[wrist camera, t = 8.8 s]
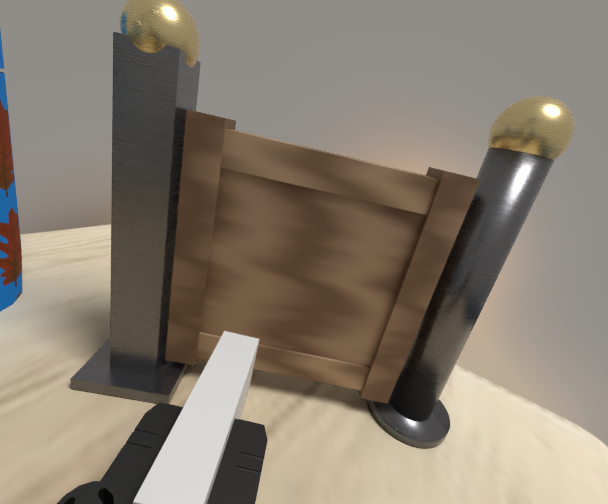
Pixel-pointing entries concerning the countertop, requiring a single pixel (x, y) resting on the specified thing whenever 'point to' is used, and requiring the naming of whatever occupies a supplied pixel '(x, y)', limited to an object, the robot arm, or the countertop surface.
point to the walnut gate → (306, 255)
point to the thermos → (8, 209)
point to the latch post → (145, 197)
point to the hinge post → (475, 263)
